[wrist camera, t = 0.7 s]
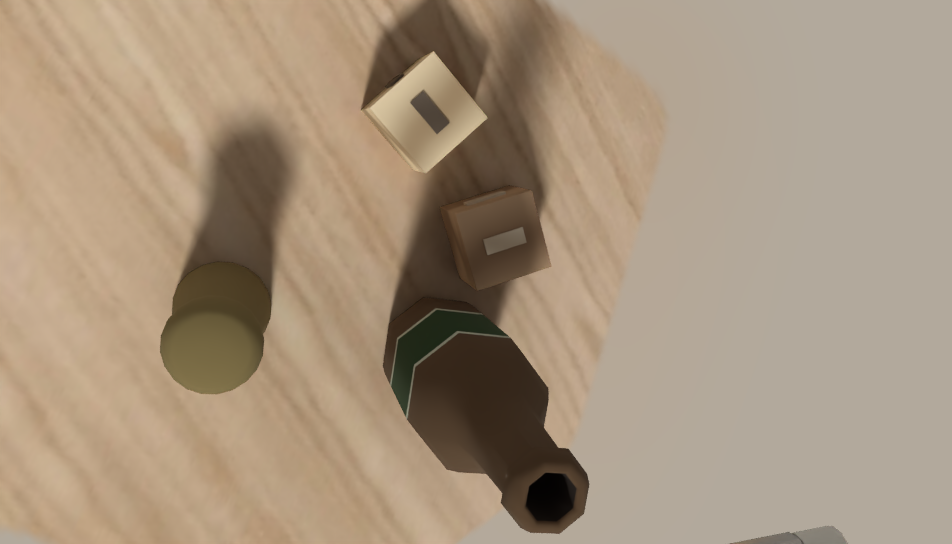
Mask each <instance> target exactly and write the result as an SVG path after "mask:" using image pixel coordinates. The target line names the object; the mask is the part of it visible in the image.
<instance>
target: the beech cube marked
mask: <svg viewBox="0 0 952 544" xmlns="http://www.w3.org/2000/svg"><path fill="white" fill-rule="evenodd" d="M385 87H386V88H385V89H384V90H383V91H382V92H381V93H380V94H378V95H377V96H376V97H375V98H374V99H373V100H372V101H371V102H369V103H368V104H367V105H366V106H365V107H364V108H363V109H362V110H361V111H362V112H363V113H364V115H365V116H366V117H367V118H368V119H369V120H370V122H371V123H372V124H373V125H374V126H375V127H376V128H377V130H378V131H379V132H380V133H381V134H382V135H383V136H384V138H385V139H386V140H387V141H388V142H389V143H390V145H391V146H392V147H393V148H394V149H395V150H396V151H397V153H398V154H399V155H400V156H401V157H402V158H403V160H404V161H405V162H406V163H407V164H408V165H409V166H410V168H411V169H412V170H415V171H419V172H423V173H427V172H428V171H429V170H430V169H431V168H433V167H434V166H435V165H436V164H437V163H438V162H439V161H440V160H441V159H443V158H444V157H445V156H446V155H447V154H448V153H449V152H450V151H451V150H453V149H454V148H455V147H456V146H457V145H458V144H459V143H460V142H461V141H462V140H464V139H465V138H466V137H467V136H468V135H469V134H470V133H471V132H472V131H474V130H475V129H476V128H477V127H478V126H479V125H480V124H481V123H482V122H484V121H485V120H486V119H487V118H488V117H487V116H486V115H485V114H484V113H483V111H482V110H481V109H480V108H479V106H478V105H477V104H476V103H475V101H474V100H473V99H472V98H471V97H470V95H469V94H468V93H467V92H466V90H465V89H464V88H463V87H462V86H461V84H460V83H459V82H458V81H457V79H456V78H455V77H454V76H453V74H452V73H451V72H450V71H449V70H448V68H447V67H446V66H445V65H444V63H443V62H442V61H441V60H440V59H439V57H438V56H437V55H436V54H435V52H434V51H433V52H431V53H429V54H427V55H425V56H423V57H421V58H419V59H418V60H417V61H416V62H415V63H413V64H412V65H411V66H410V67H409V68H408V69H407V70H406V71H404V72H403V73H402V74H401V75H398V76H397V77H395V78H394V79H393V80H392V81H391V82H390V83H389V84H388V85H386V86H385Z"/></svg>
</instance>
